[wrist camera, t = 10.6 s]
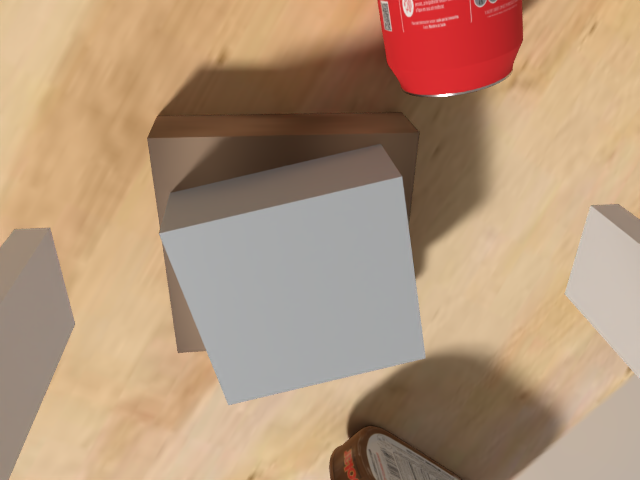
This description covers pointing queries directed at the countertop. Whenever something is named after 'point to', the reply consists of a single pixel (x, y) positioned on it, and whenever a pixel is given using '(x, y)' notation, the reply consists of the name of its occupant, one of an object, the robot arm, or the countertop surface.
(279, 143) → the tower base
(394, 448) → the tin
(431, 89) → the beverage can
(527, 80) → the countertop surface
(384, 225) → the tower top
